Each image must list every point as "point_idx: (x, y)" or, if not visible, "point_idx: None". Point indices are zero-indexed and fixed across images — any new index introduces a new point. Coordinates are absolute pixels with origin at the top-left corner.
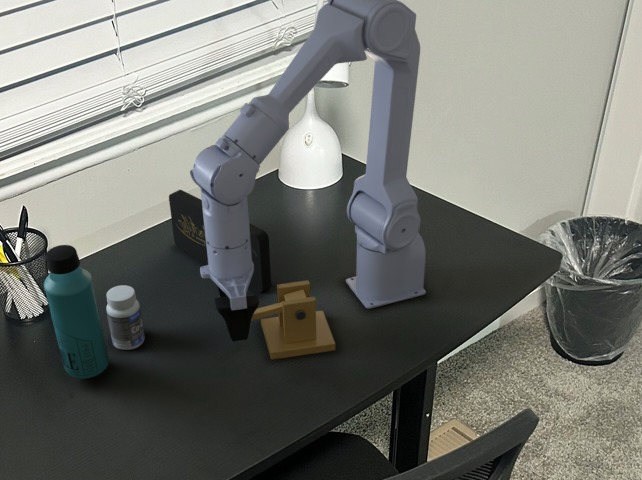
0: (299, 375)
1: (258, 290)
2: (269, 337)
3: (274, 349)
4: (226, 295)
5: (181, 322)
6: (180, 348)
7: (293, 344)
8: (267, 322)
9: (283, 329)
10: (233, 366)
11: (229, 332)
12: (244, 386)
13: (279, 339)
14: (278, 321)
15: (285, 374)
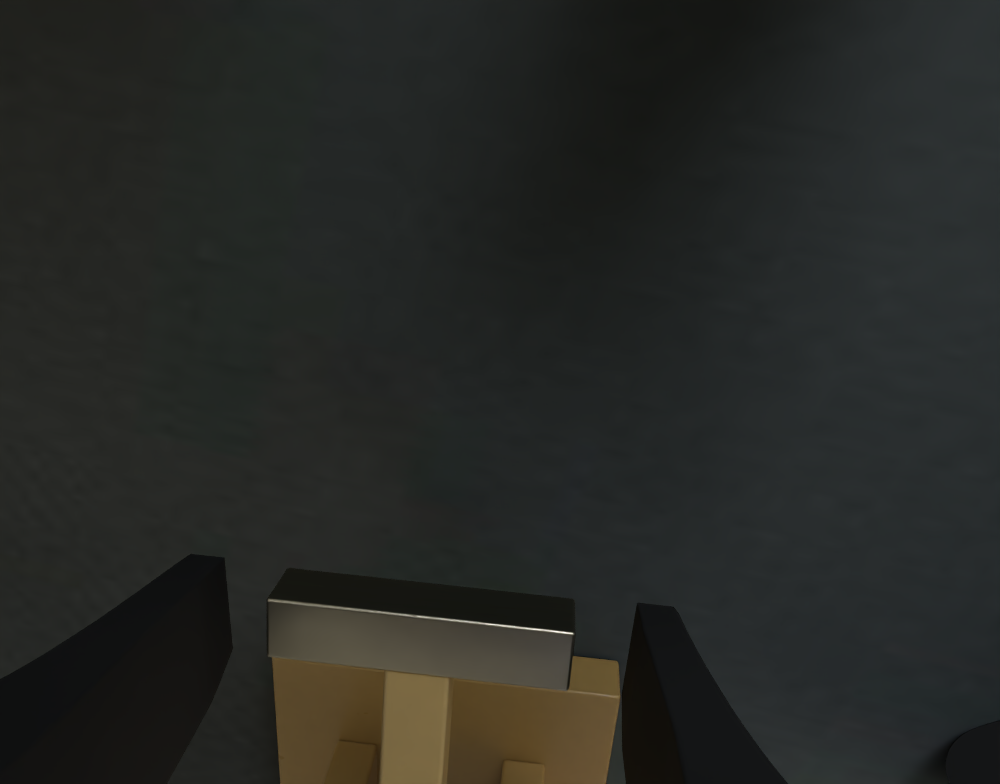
0: None
1: (975, 742)
2: None
3: (300, 681)
4: (651, 721)
5: (903, 192)
6: (561, 122)
7: (324, 768)
8: (571, 717)
9: (473, 765)
10: (268, 428)
11: (123, 603)
12: (72, 442)
13: None
14: (560, 765)
15: None
